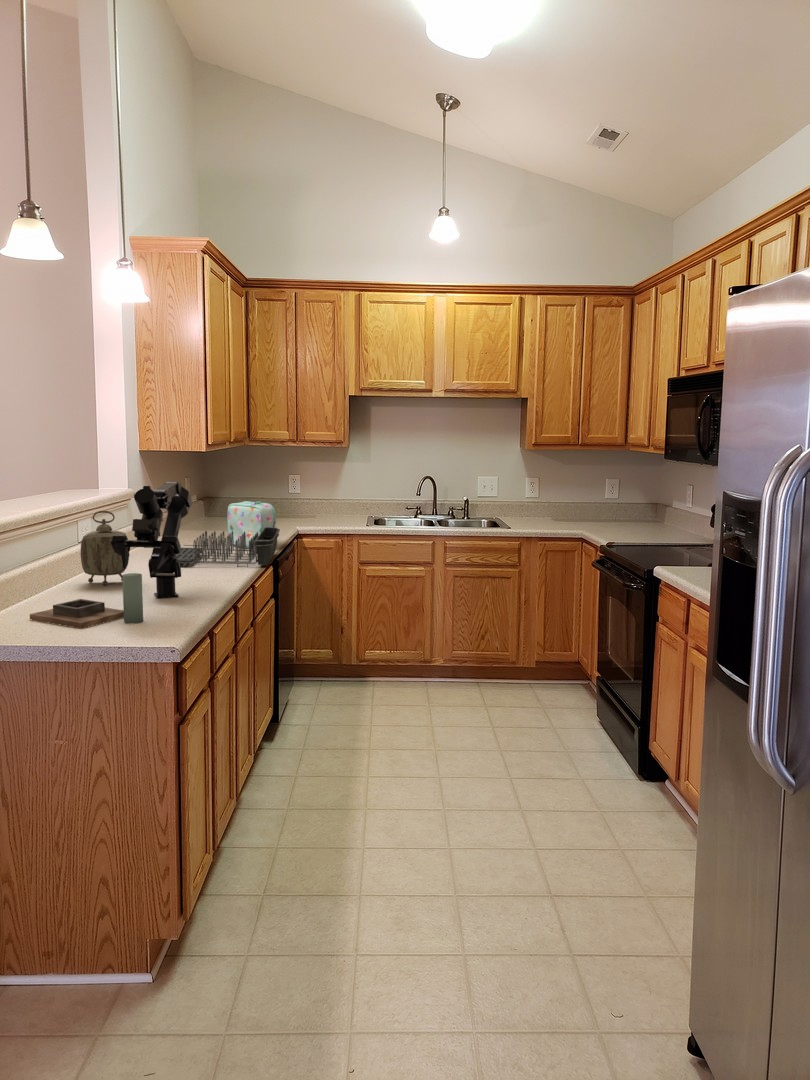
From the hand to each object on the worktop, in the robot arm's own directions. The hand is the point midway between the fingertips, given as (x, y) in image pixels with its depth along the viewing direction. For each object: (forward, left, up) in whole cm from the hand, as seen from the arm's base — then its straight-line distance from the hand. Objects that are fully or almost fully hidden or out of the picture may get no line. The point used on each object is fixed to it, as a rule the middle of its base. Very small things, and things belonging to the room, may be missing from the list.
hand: (140, 568), depth 218 cm
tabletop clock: (-50, -4, -13) cm, 52 cm away
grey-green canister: (+7, -3, -13) cm, 16 cm away
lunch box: (-113, +65, -14) cm, 131 cm away
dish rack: (-81, +43, -14) cm, 93 cm away
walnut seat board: (-3, -16, -13) cm, 21 cm away
